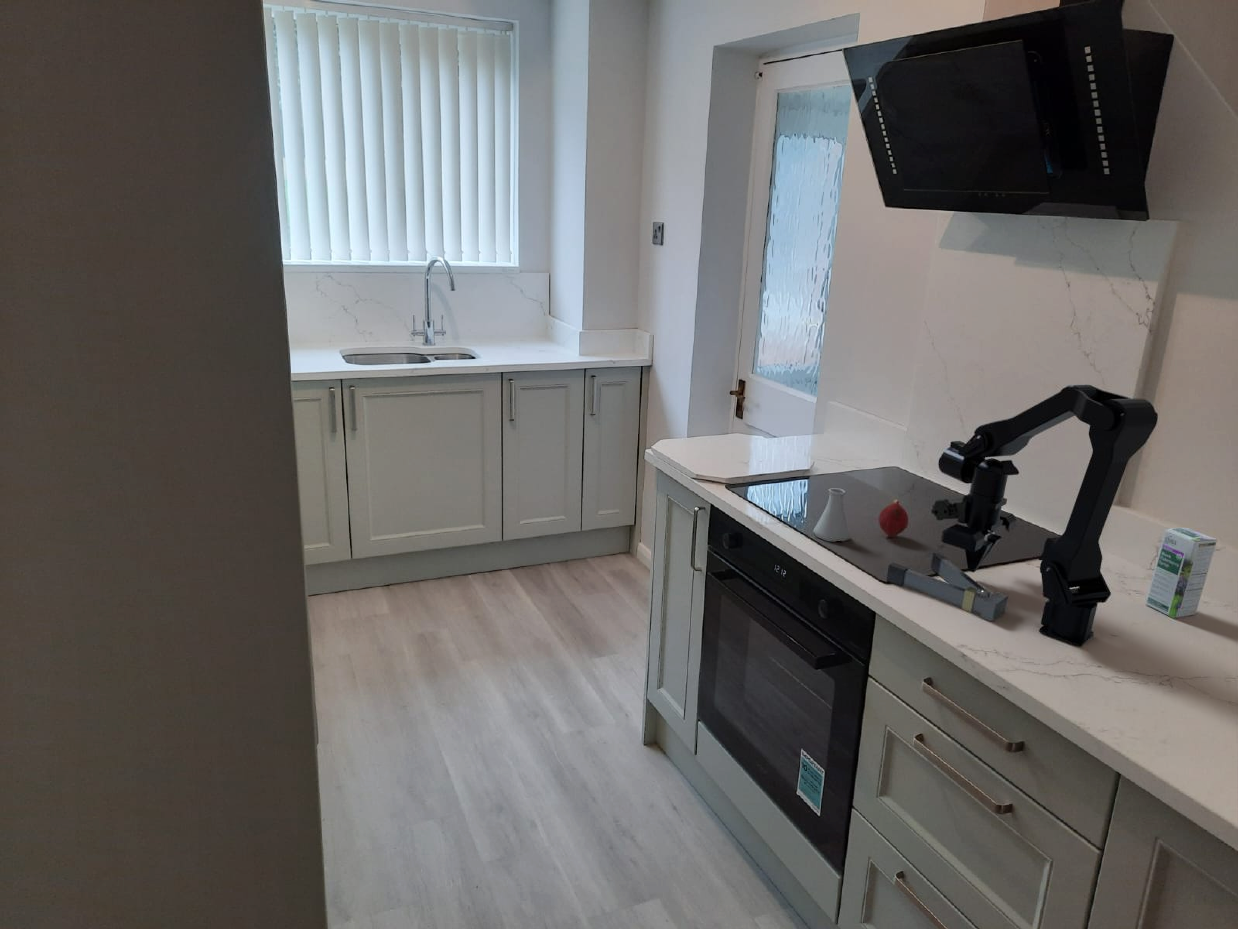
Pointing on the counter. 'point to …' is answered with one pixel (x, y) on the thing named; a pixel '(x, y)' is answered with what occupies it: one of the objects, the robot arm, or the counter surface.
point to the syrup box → (1180, 572)
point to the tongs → (949, 592)
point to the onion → (893, 519)
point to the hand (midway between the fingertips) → (971, 571)
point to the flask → (833, 519)
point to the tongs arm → (955, 574)
